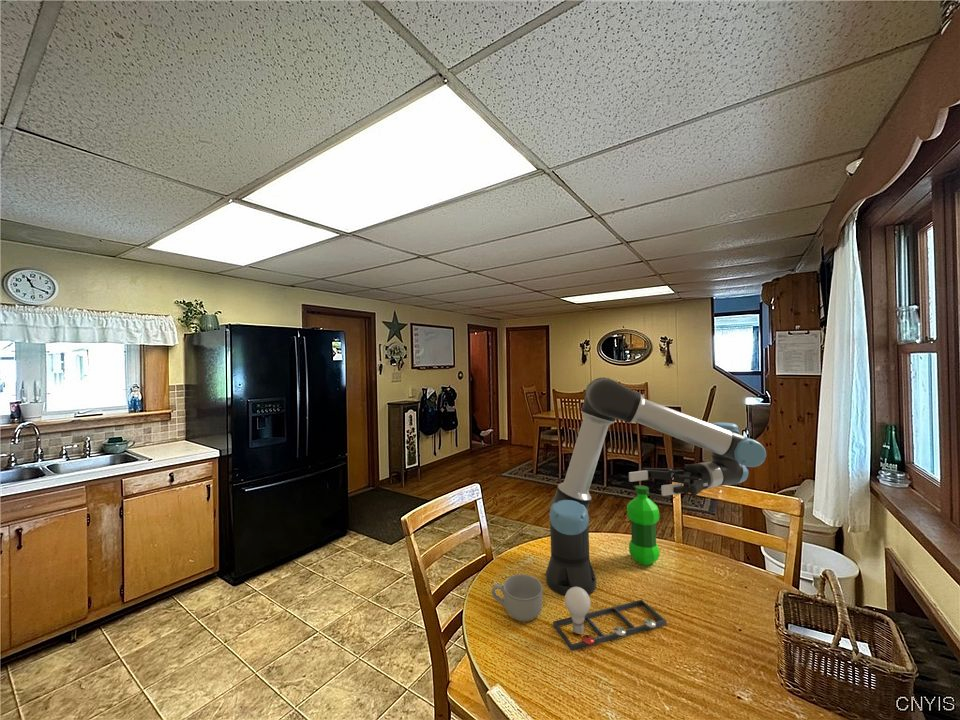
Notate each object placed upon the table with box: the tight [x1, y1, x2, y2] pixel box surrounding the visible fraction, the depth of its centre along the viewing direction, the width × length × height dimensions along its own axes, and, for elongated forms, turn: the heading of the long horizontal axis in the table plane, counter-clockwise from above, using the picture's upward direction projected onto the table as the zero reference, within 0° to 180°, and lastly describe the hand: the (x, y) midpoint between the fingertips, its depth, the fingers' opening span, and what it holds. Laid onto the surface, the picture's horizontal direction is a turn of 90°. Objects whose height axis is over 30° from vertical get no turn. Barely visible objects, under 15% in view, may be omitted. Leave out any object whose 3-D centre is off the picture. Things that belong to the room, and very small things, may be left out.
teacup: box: [491, 573, 544, 622], centre depth 103 cm, size 14×11×8 cm
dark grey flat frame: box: [552, 599, 667, 652], centre depth 97 cm, size 10×28×2 cm, turn 107°
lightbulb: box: [564, 587, 592, 635], centre depth 95 cm, size 6×6×11 cm
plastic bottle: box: [626, 485, 660, 566], centre depth 129 cm, size 10×10×25 cm
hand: (645, 483), depth 111 cm, fingers open, 13 cm apart
